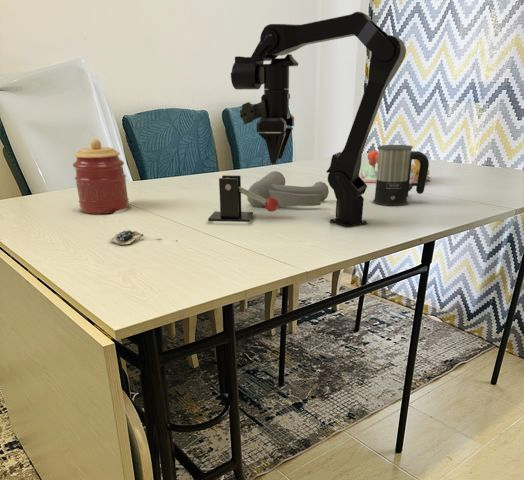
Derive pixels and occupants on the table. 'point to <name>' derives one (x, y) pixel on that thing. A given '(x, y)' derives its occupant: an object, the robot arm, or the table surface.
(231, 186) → the bracket
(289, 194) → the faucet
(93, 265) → the table surface
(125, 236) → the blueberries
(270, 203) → the tap lever
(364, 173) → the candy landscape model
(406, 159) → the milk frother
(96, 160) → the kitchen canister
